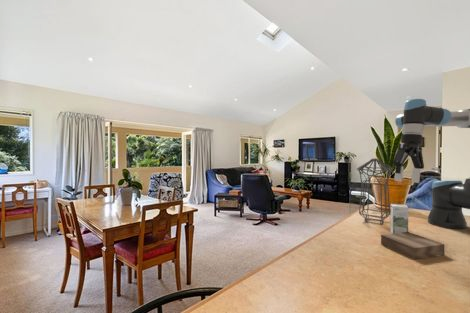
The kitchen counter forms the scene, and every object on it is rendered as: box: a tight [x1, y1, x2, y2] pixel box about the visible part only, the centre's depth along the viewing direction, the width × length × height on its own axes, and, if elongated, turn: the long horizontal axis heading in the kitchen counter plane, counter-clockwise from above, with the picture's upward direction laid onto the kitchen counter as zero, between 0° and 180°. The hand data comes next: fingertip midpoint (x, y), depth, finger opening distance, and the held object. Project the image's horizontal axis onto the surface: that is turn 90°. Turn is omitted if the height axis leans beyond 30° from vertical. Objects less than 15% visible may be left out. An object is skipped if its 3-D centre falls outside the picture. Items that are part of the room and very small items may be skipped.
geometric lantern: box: [356, 158, 394, 225], centre depth 127 cm, size 16×16×35 cm
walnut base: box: [380, 231, 445, 260], centre depth 91 cm, size 14×14×4 cm
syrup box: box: [389, 203, 409, 234], centre depth 104 cm, size 6×6×14 cm
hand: (406, 182), depth 103 cm, fingers open, 13 cm apart
